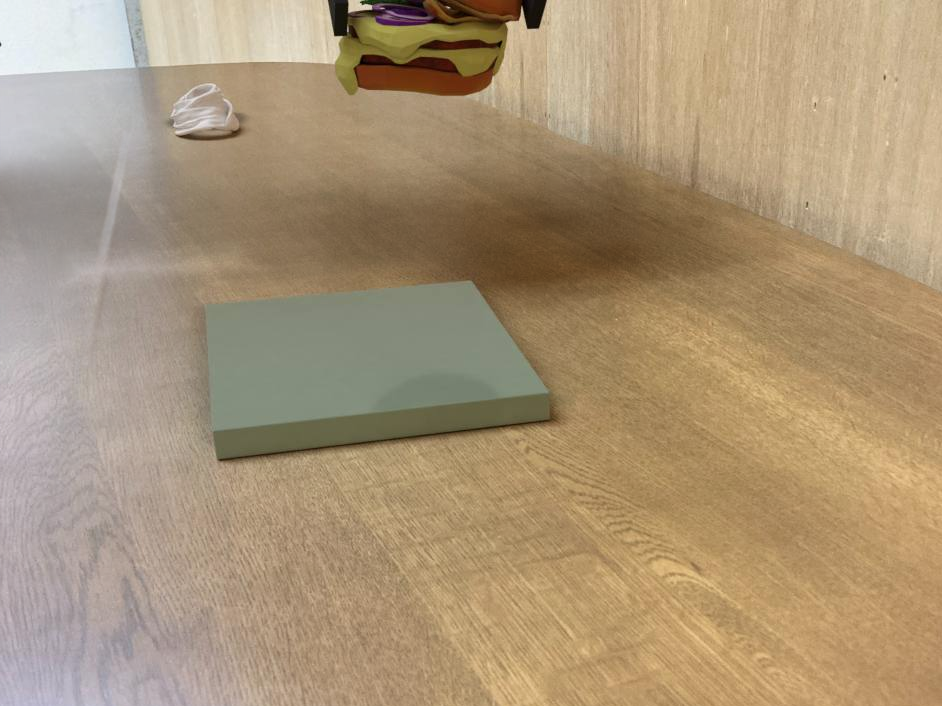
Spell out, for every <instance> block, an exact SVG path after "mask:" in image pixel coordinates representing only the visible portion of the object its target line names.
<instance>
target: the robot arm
mask: <svg viewBox="0 0 942 706" xmlns="http://www.w3.org/2000/svg"><path fill="white" fill-rule="evenodd" d="M547 2H548V0H522V7H521V10H522V12H523V17H524V22H525V26H526V30H539V29H540V28H541V23H542V19H543V16H544V12H545V9H546V5H547ZM327 4H328V11H329V15H330V20H331V21H330V22H331V27H332V32H333V37H343V36H347V32H348V13H349V5H350V4H349V0H327ZM0 47H2V42H1V41H0Z"/></svg>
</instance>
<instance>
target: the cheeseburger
mask: <svg viewBox="0 0 942 706" xmlns="http://www.w3.org/2000/svg"><path fill="white" fill-rule="evenodd" d="M359 4H361V6H364V5H368V6H371V9H361V10H355V11H353V10H352V11H350V12H348V29H347V36H341V38H340V40H339V42H338V47H339V55H338V57H337V58H336V60H335V61H334V69H335V70H334V71H335V72H334V73H335V76H336V78H337V79H338V81H339V82H340V84H341V86H342V87H343V89H344V90H345V91H346V93H347V95H349V96H354V95H355V94H356V93H357V92H358V90H359V88H360V89H363V90H366V91H389V92H390V91H391V92H392V91H393V92H406V93H407V92H408V93H419V94H426V95H432V96H439V97H466V96H470V95H473V94H477V93H480V92H482V91H483V90H485V89H487V88H488V87H489V86H490V85H491V84H492V82H493V77H495V76H496V75H497V74H498V73H499V71H500V69H501V66H502V64H503V61H504V58H505V50H506V47H507V42H508V34H509V27H508V26H507V23H509V22H519V21H520V18H521V16H522V0H360V1H359Z"/></svg>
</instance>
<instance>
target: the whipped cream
mask: <svg viewBox="0 0 942 706" xmlns="http://www.w3.org/2000/svg"><path fill="white" fill-rule="evenodd" d="M224 97H225V94H224V93H221V89H220V87H218V86H217V85H216V84H215V83H203V84H200V85H196V86H194V87H193V88H191V90H189V91H188V92H187V93H185V94H184V95H182V96H181V97H180V98H179V100H178V101H176V102H175V103H174V104H173V105H172V106H173V111H172V113H171V115H170V118H171V119H172V120H173V122H174V123H173V127H174V128H175V131H174V134H175V135H176V136H186V135H190V134H191V133H196V132H205V131H210V130H212V129H216V130H220V131H221V130H223V131H224V132H236V131H238V130H239V129H240V122H239V120H238V118H237V116H236V115H235V113H234V108H233V105H232V104H231V101H229V100H228V99H227V98H224Z"/></svg>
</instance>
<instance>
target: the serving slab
mask: <svg viewBox="0 0 942 706" xmlns="http://www.w3.org/2000/svg"><path fill="white" fill-rule="evenodd" d="M204 312H205V327H206V329H205V330H206V346H207V347H206V348H207V363H208V382H209V398H210V401H209V402H210V417H211V432H212V439H213V445H214V450H215V456H216V459H217V460H227V459H235V458H242V457H250V456H259V455H268V454H275V453H277V454H278V453H283V452H284V453H285V452H292V451H293V452H294V451H301V450H308V449H316V448H318V449H319V448H327V447H335V446H342V445H343V446H344V445H352V444H359V443H366V442H367V443H368V442H375V441H383V440H393V439H399V438H401V439H402V438H409V437H419V436H424V435H425V436H426V435H434V434H443V433H450V432H451V433H452V432H459V431H468V430H475V429H485V428H491V427H501V426H510V425H516V424H517V425H518V424H525V423H534V422H535V423H536V422H541V421H542V422H543V421H549V420H551V392H550V391H549V389H548V388H547V387H546V385H545V383H544V382H543V380H542V379H541V377H540V376H539V375H538V374H537V372H536V370H535V369H534V367H532V365H531V363H530V362H529V361H528V359H527V358H526V356H525V355H524V354H523V352H522V351H521V350H520V349H521V348H520V347H519V346H518V345H517V344H516V342H515V340H514V339H513V337H512V336H511V335H510V334H509V332H508V330H507V329H506V328H505V326H504V325H503V324H502V322H501V321H500V319H499V317H498V316H497V315H496V313H495V312H494V311H493V309H492V308H491V306H490V305H489V304H488V302H487V301H486V299H485V298H484V296H483V295H482V293H481V291H480V290H479V289H478V288H477V286H476V285H475V283H474V282H473V280H459V281H449V282H439V283H438V282H437V283H428V284H427V283H426V284H417V285H415V284H414V285H405V286H396V287H382V288H373V289H372V288H371V289H361V290H351V291H338V292H328V293H327V292H326V293H318V294H317V293H316V294H305V295H295V296H283V297H273V298H261V299H251V300H240V301H231V302H229V301H227V302H217V303H207V304H205V305H204Z"/></svg>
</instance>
